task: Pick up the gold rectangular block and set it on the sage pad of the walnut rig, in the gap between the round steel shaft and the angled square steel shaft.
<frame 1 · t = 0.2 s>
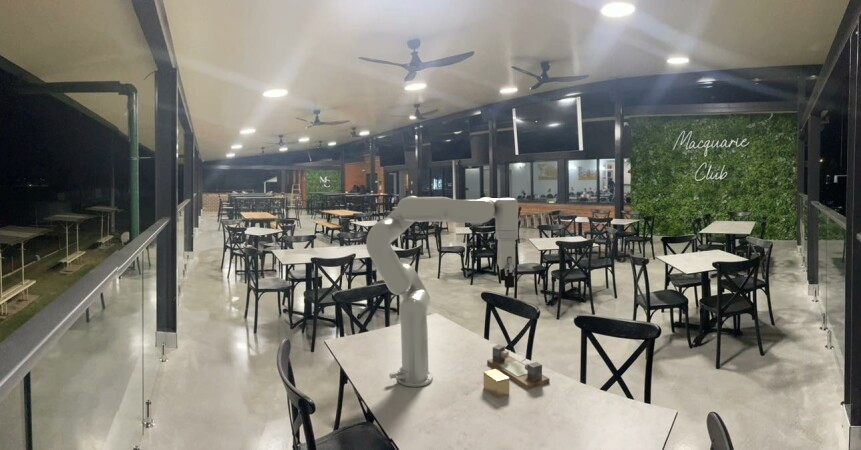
hand: (507, 283, 162), 36 cm above the table, tool pointing down, fingers open, 9 cm apart
shaft rig: (516, 372, 175), on the table
gold rectangular block: (496, 391, 161), on the table
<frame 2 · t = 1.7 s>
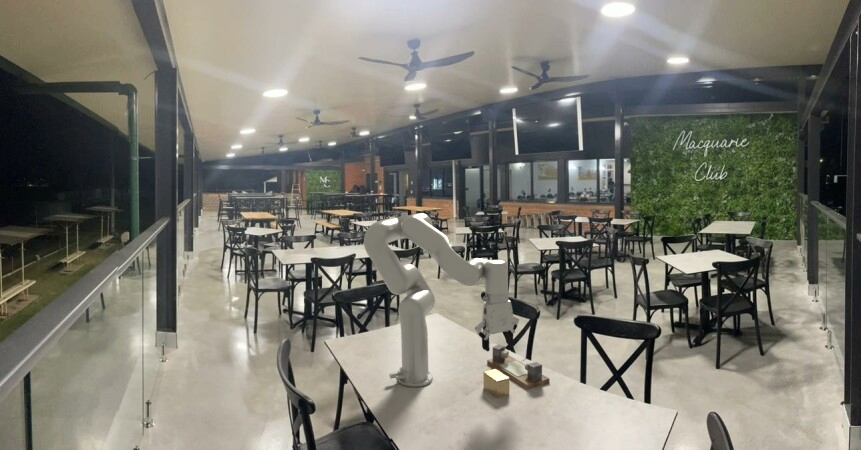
hand: (498, 347, 159), 16 cm above the table, tool pointing down, fingers open, 9 cm apart
nothing on the table moved.
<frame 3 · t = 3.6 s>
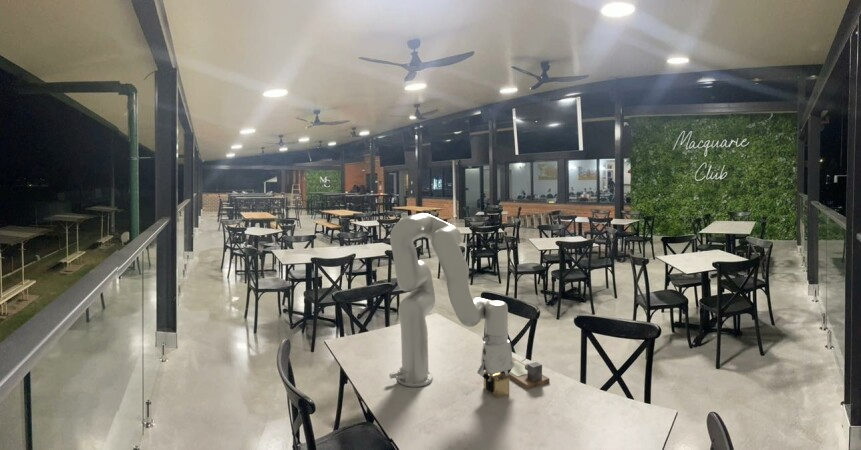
hand: (496, 388, 161), 1 cm above the table, tool pointing down, fingers closed on gold rectangular block, 5 cm apart
gold rectangular block: (496, 391, 161), on the table, touching gripper
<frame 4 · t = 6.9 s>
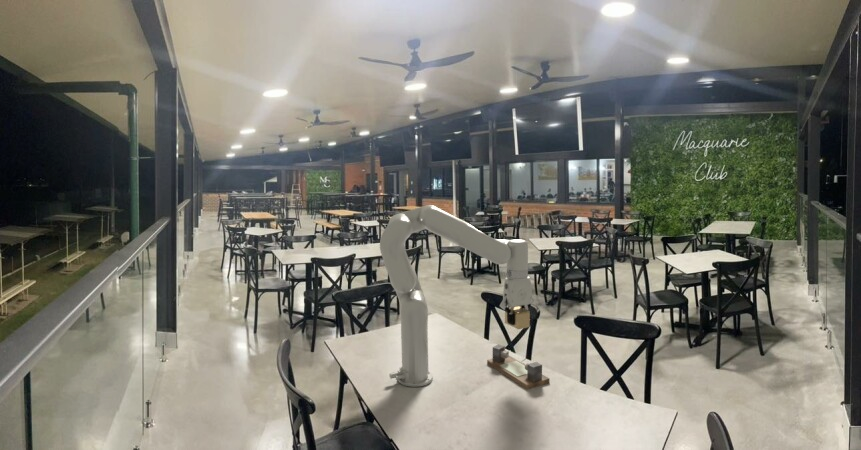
hand: (517, 322, 172), 20 cm above the table, tool pointing down, fingers closed on gold rectangular block, 5 cm apart
gold rectangular block: (517, 324, 172), point 19 cm above the table, touching gripper
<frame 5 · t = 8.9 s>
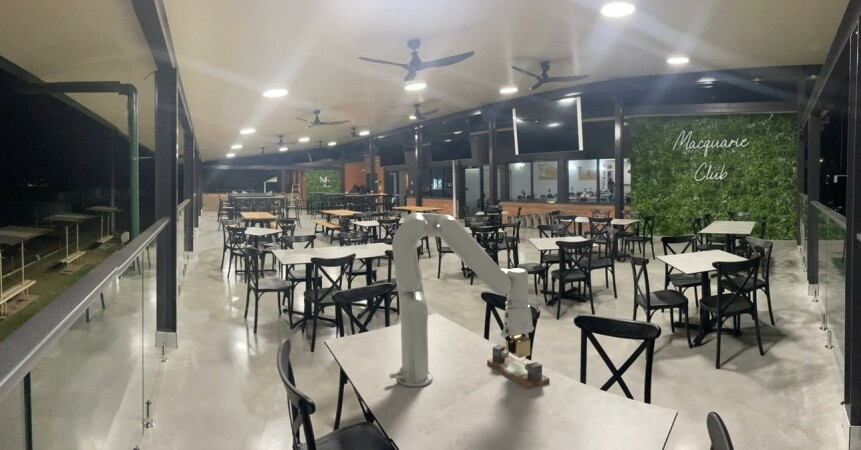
hand: (517, 350, 174), 9 cm above the table, tool pointing down, fingers closed on gold rectangular block, 5 cm apart
gold rectangular block: (517, 352, 174), point 8 cm above the table, touching gripper
when the fingers open (4 cm above the table, at t = 10.3 s): gold rectangular block drops 1 cm, resting on shaft rig.
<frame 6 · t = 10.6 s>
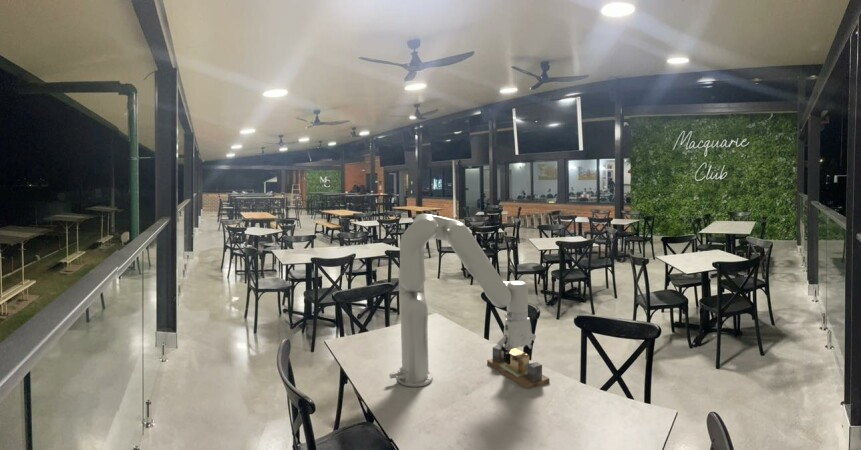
hand: (516, 360, 174), 5 cm above the table, tool pointing down, fingers open, 8 cm apart
gold rectangular block: (516, 368, 175), point 2 cm above the table, touching shaft rig
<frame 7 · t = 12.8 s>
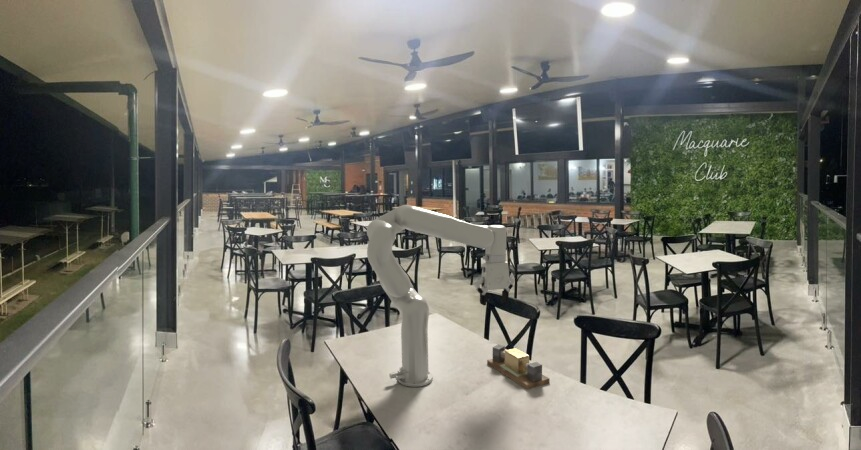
hand: (494, 303, 178), 25 cm above the table, tool pointing down, fingers open, 9 cm apart
nothing on the table moved.
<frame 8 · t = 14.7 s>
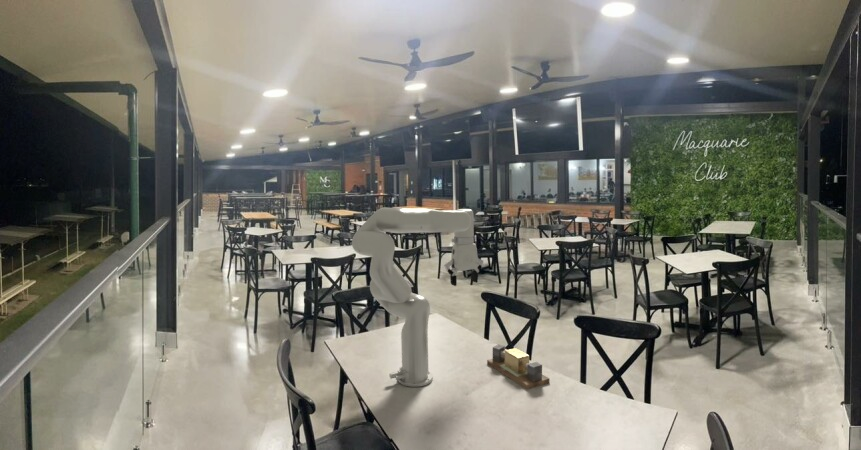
hand: (464, 283, 186), 30 cm above the table, tool pointing down, fingers open, 9 cm apart
nothing on the table moved.
at the end: gold rectangular block 0.0 cm off-centre on the shaft rig, point 1.7 cm above the shaft rig's base; gold rectangular block tilted 0°; the gripper is holding nothing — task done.
